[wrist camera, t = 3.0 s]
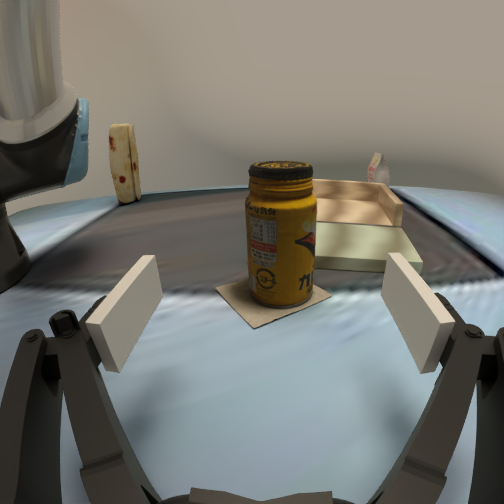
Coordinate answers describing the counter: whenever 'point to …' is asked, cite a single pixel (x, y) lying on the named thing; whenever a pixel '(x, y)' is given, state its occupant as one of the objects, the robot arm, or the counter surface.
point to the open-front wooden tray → (359, 227)
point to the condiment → (278, 244)
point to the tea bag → (378, 170)
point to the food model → (124, 162)
